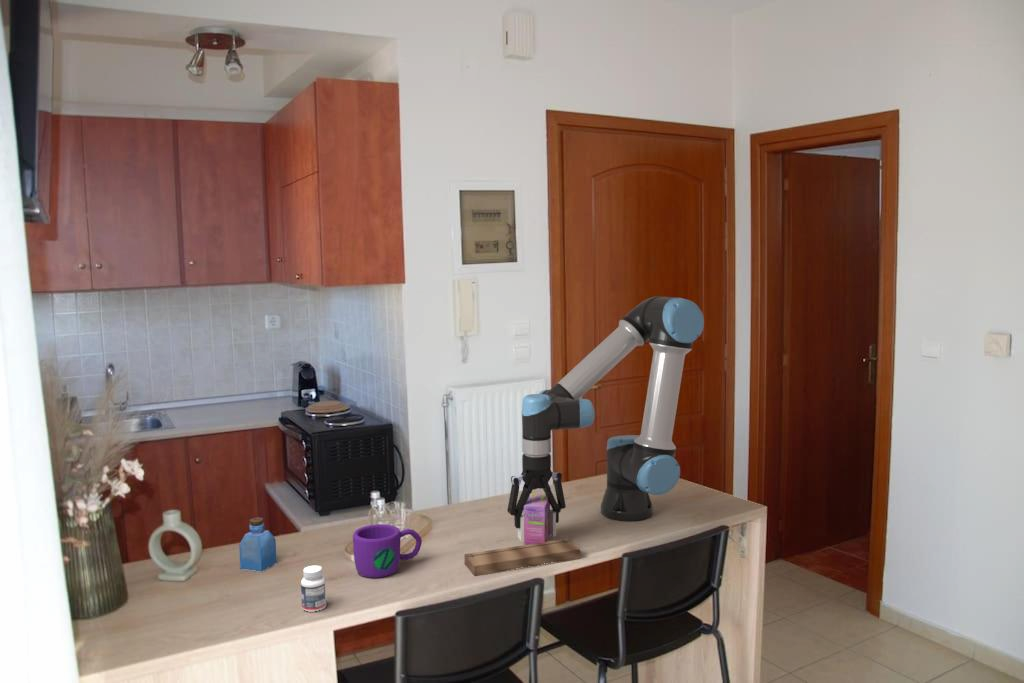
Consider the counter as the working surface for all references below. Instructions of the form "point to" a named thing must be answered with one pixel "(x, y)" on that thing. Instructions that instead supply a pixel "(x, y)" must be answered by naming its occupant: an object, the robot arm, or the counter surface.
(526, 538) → the box
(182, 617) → the counter surface
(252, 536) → the perfume bottle
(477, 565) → the plank
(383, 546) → the mug
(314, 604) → the pill bottle
